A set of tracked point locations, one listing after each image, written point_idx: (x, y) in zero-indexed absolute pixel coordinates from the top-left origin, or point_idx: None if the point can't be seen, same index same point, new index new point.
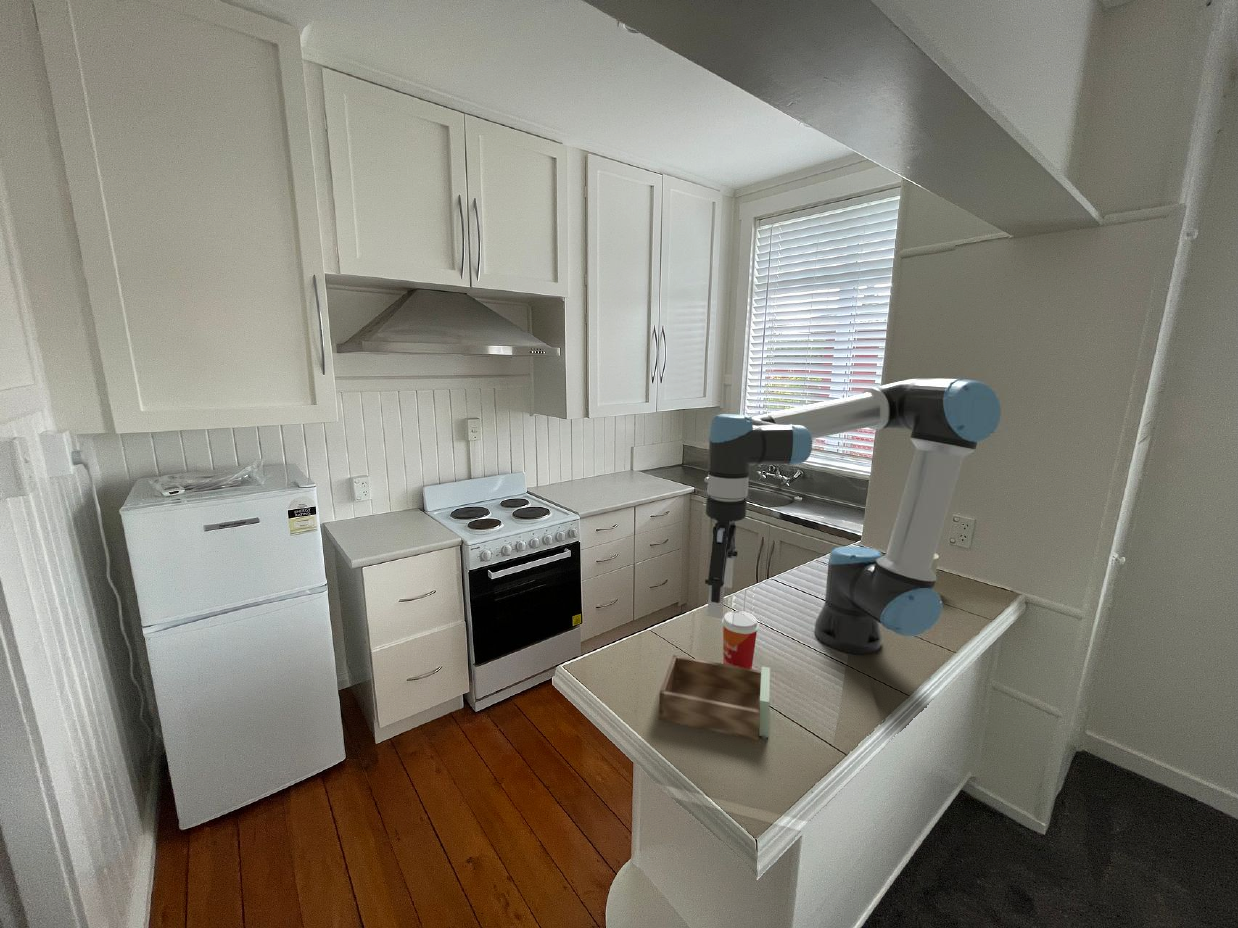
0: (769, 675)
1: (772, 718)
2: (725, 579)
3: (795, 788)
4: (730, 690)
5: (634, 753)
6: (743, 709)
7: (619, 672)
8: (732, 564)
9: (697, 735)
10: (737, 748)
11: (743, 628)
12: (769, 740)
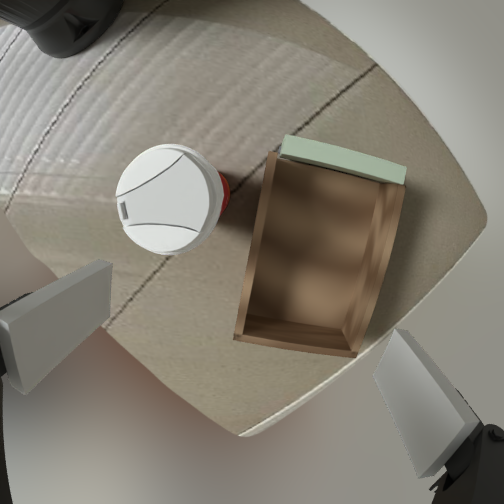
0: (318, 142)
1: None
2: (91, 304)
3: (441, 154)
4: (267, 213)
5: None
6: (399, 215)
7: (225, 385)
8: (35, 310)
9: None
10: None
11: (212, 195)
12: None
